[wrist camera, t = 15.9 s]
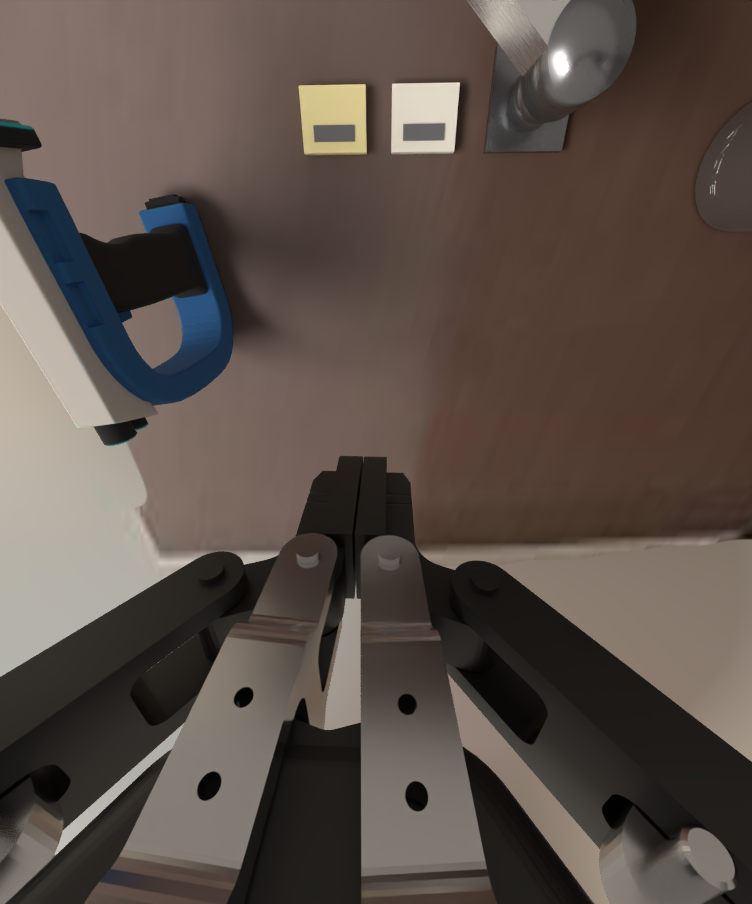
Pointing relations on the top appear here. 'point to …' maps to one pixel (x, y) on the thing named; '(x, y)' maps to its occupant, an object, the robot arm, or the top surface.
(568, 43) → the bar
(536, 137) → the gray square plate
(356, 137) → the label plate
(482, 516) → the top surface
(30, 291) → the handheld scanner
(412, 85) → the label plate
